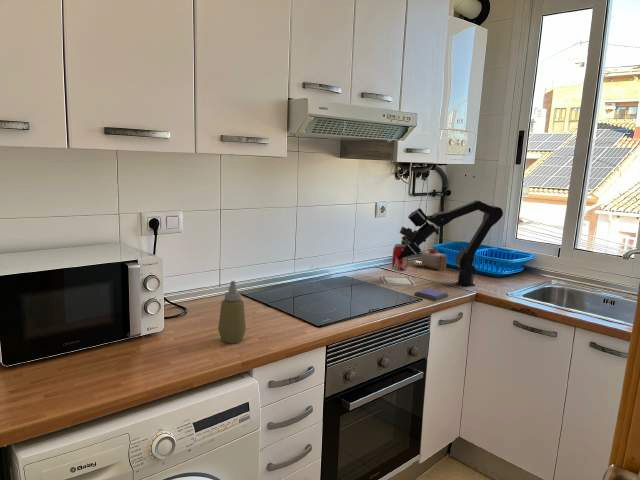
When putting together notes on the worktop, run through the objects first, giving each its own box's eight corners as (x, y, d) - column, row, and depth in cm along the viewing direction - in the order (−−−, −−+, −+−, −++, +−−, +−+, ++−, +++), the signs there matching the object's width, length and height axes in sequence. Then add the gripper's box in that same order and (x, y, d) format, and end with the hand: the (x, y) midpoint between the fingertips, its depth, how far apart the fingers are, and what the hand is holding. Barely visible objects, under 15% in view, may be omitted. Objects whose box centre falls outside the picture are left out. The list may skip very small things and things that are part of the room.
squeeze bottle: (212, 339, 139) (213, 280, 136) (235, 333, 145) (236, 276, 142) (228, 348, 133) (229, 286, 130) (251, 341, 139) (252, 282, 136)
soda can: (397, 272, 213) (399, 246, 211) (388, 269, 219) (390, 244, 217) (410, 271, 216) (412, 246, 214) (401, 268, 222) (402, 243, 220)
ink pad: (427, 291, 204) (427, 287, 204) (448, 296, 197) (448, 293, 197) (414, 295, 197) (414, 291, 197) (435, 300, 190) (436, 297, 190)
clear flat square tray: (409, 278, 225) (409, 277, 225) (415, 286, 212) (415, 285, 211) (380, 277, 225) (380, 276, 225) (384, 284, 211) (384, 283, 211)
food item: (418, 265, 255) (419, 248, 253) (427, 264, 259) (429, 246, 258) (438, 271, 244) (439, 252, 242) (447, 269, 249) (449, 251, 247)
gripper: (407, 218, 223) (382, 240, 224) (415, 223, 204) (388, 247, 206) (422, 235, 224) (397, 257, 226) (432, 242, 206) (405, 266, 208)
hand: (397, 256), depth 216 cm, fingers closed on soda can, 7 cm apart
